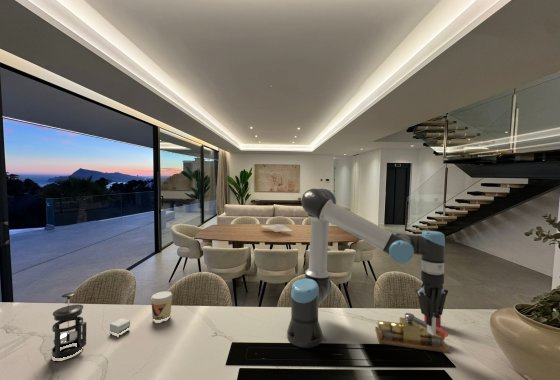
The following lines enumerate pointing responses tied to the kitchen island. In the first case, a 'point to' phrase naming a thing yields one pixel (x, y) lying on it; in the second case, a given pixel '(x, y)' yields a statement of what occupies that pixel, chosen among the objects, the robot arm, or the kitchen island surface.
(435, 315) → the robot arm
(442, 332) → the lever
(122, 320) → the small box
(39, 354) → the kitchen island surface
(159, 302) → the coffee cup
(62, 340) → the french press
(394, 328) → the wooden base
